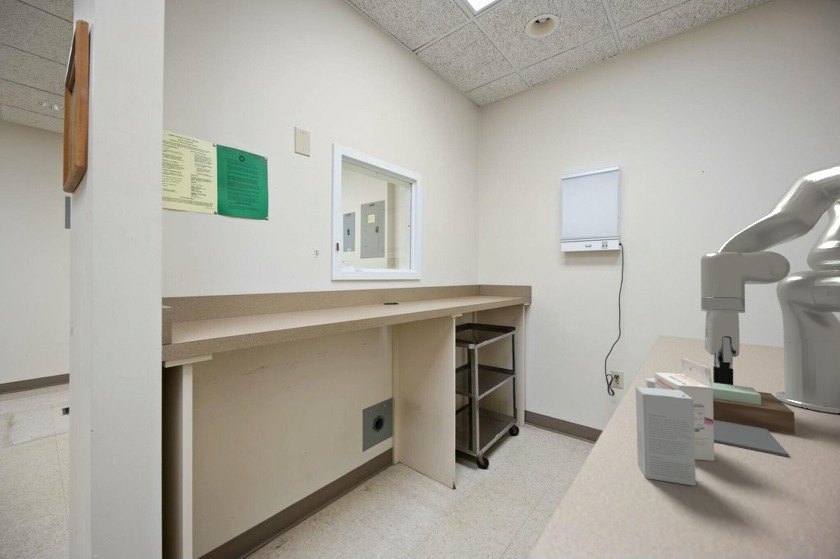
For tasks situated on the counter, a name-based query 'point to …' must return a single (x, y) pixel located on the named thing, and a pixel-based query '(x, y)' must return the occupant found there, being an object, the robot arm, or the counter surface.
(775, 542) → the counter surface
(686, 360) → the ink cartridge box
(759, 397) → the mint green block
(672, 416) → the skincare box
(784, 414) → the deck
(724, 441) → the mat
